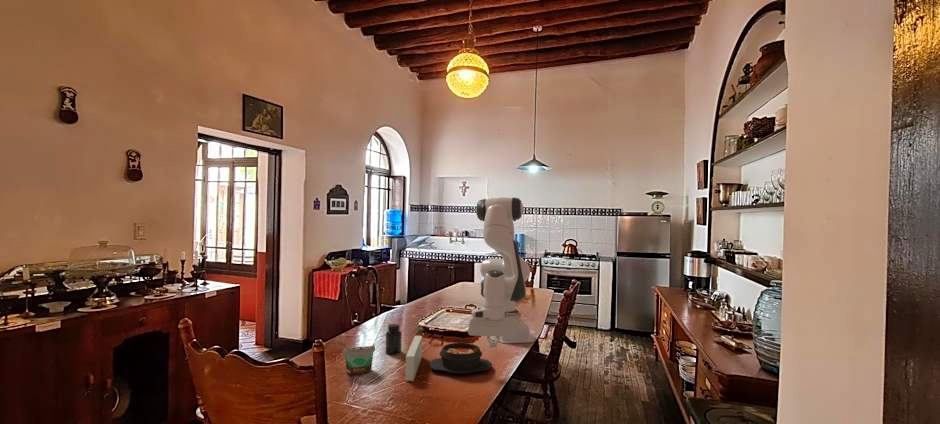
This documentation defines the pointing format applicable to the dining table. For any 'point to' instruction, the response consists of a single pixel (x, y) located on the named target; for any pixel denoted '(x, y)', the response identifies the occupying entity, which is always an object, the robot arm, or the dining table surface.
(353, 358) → the food container
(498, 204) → the robot arm
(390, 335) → the supplement bottle
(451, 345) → the casserole
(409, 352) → the board
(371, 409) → the dining table surface
